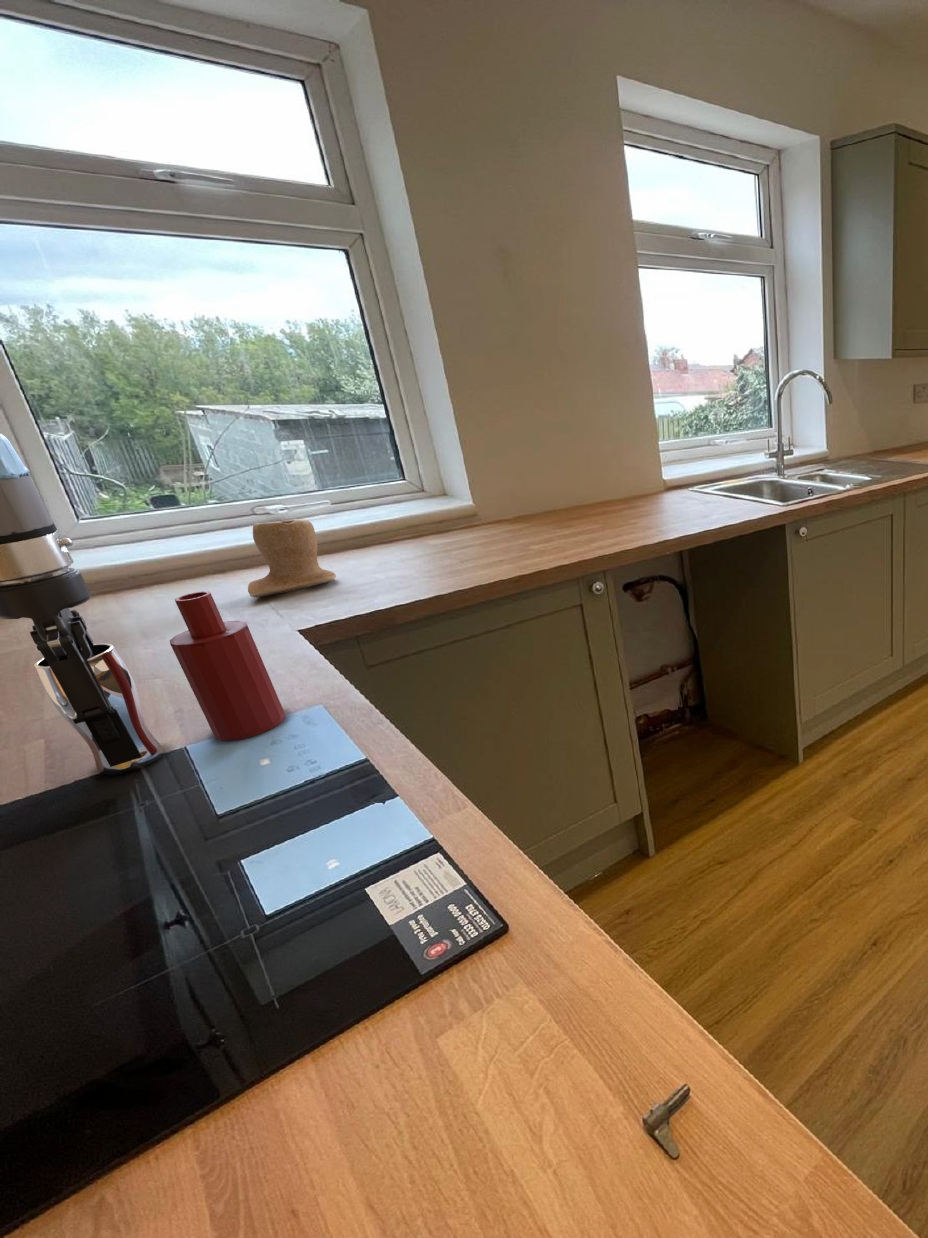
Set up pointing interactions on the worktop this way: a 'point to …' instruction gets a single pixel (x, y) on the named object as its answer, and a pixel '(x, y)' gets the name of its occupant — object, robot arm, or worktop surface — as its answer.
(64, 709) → the beer glass
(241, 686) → the sauce bottle
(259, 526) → the brown top hat
